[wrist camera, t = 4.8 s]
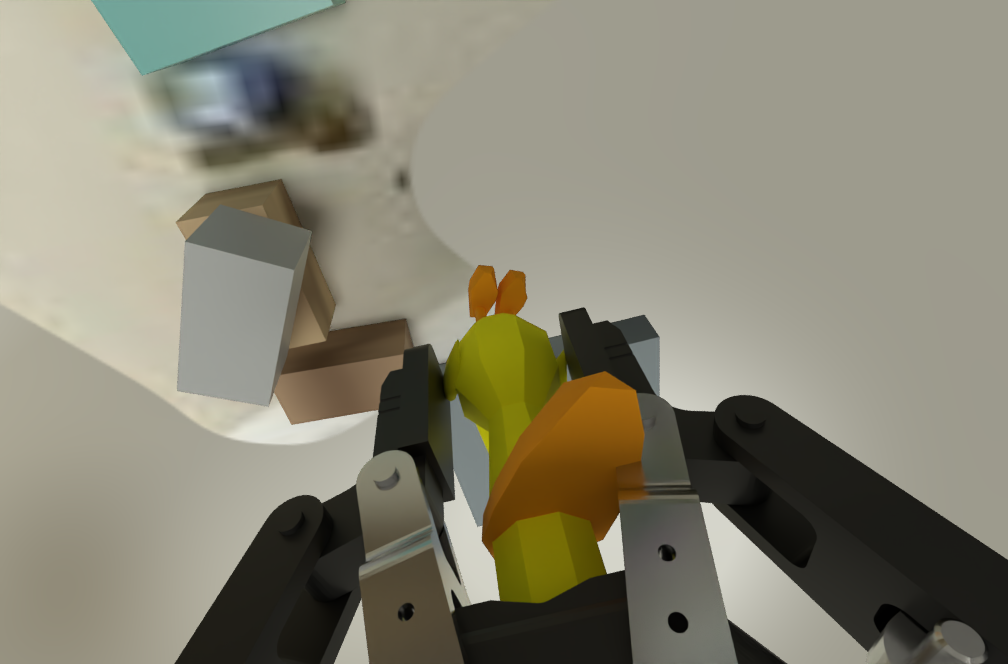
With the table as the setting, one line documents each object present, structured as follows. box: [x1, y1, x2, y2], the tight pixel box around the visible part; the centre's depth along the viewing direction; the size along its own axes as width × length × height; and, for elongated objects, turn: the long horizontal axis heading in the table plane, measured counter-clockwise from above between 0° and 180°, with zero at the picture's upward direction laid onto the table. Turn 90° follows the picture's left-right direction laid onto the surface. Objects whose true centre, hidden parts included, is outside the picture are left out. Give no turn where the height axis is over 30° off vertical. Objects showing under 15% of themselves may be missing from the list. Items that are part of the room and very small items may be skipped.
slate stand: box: [439, 315, 659, 526], centre depth 28 cm, size 12×12×2 cm
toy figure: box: [443, 265, 645, 603], centre depth 11 cm, size 7×4×12 cm, turn 166°
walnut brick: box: [274, 319, 414, 425], centre depth 23 cm, size 6×3×3 cm, turn 96°
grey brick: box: [177, 204, 312, 407], centre depth 17 cm, size 6×3×3 cm, turn 158°
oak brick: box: [176, 179, 336, 349], centre depth 19 cm, size 6×3×3 cm, turn 8°
